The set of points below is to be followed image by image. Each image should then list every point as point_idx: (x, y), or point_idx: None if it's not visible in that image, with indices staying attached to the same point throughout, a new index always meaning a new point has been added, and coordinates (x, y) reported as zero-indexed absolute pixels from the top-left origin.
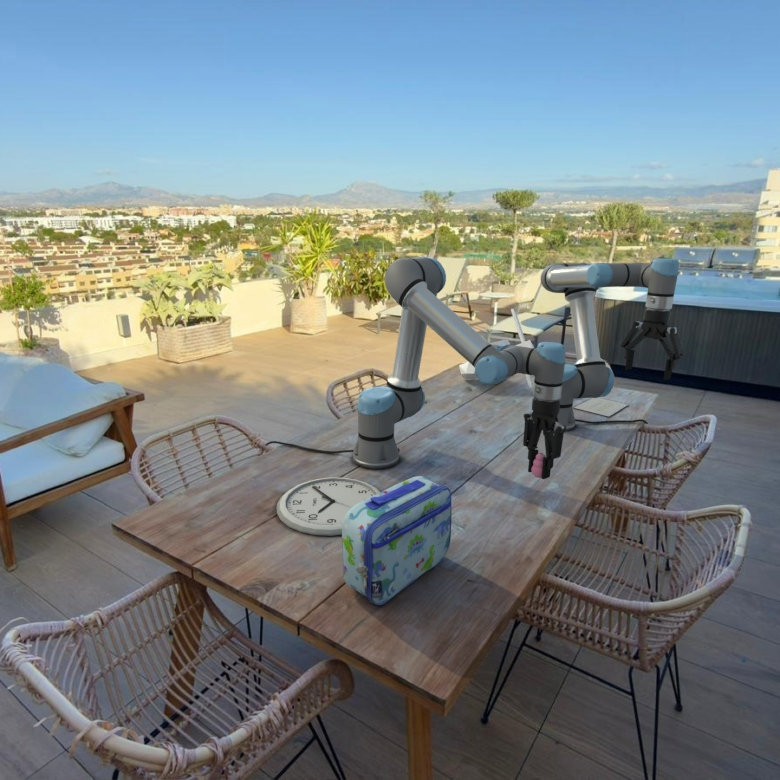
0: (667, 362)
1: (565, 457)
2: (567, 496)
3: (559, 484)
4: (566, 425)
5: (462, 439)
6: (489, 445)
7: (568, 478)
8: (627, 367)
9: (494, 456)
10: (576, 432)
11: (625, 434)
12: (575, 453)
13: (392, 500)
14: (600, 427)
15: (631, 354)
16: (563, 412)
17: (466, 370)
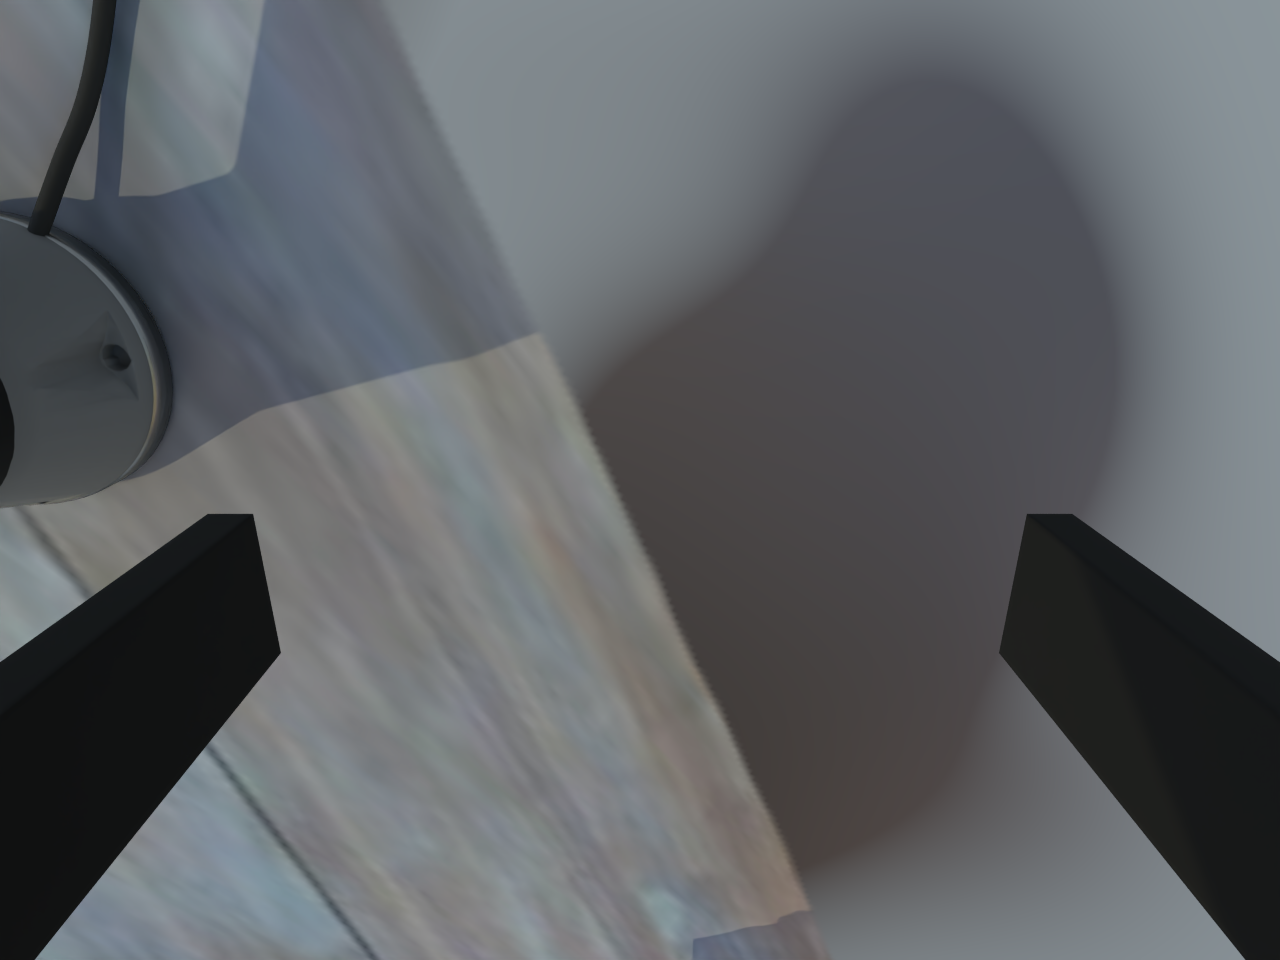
0: (1267, 947)
1: (487, 689)
2: (754, 926)
3: (672, 887)
4: (145, 406)
5: (108, 915)
6: (217, 867)
7: (655, 828)
8: (254, 672)
9: (335, 917)
10: (215, 349)
11: (380, 40)
12: (473, 612)
13: None
14: (189, 88)
15: (37, 835)
16: (46, 442)
17: None
